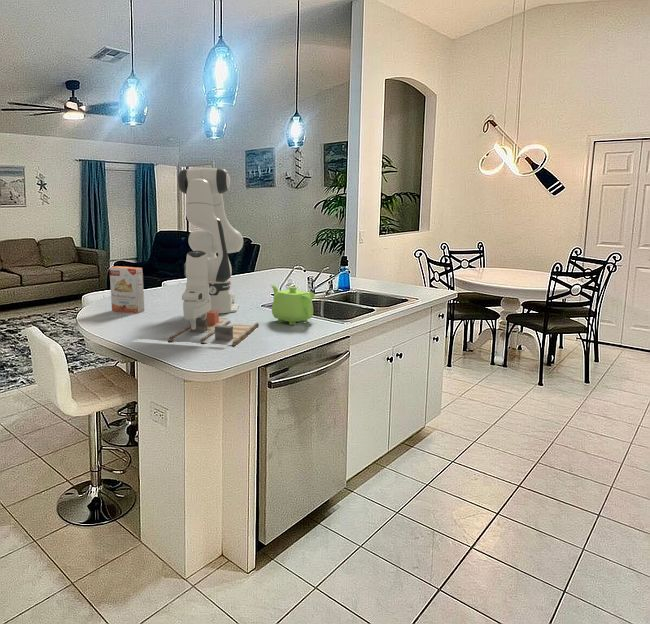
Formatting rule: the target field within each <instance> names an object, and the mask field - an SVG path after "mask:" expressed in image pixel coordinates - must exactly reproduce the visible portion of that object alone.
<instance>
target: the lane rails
mask: <svg viewBox="0 0 650 624" xmlns="http://www.w3.org/2000/svg"><path fill="white" fill-rule="evenodd" d="M259 323H260V322H255V323H254V324H253V325H251V327H250V328H249V329H247V330H246V331H245V332H244V333H242V334H241V335H240V336H239V337H237V338H236V339H235V340H234V341H232V347H233V346H236V345H237V346H238V345H239V344H240V343H242V342H243V341H244V340H245V339H246V338H248V337H249V336H250V335H251V334H252V333H253V332H255V331H256V330H257V329H258V328H259V327H260V326H259V325H260V324H259ZM229 324H231V320H226V321H225V323H223V324H222V325H224V326H229ZM256 328H257V329H256ZM255 329H256V330H255ZM189 330H190V324H189V325H188V326H186V327H184V328H183V329H181V330H179V331H178V332H175V333H174V334H173V335H171V336H169V337H168V343H170V344H171V343H173V342H174V340H173V339H174V338H177V337H178V336H180V335H182V334H183V333H185V332H186V331H189ZM254 330H255V331H254ZM214 335H215V329H214V330H211V332H208V333H207V335H205V336H204V337H202V338H200V339H199V341H200V344H203V345H205V344H206V342H204V341H206V340H208V339H209V338H210V337H211V336H214ZM248 335H249V336H248ZM241 341H242V342H241ZM237 346H236V347H237Z"/></svg>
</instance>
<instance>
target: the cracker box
mask: <svg viewBox="0 0 650 624" xmlns="http://www.w3.org/2000/svg"><path fill="white" fill-rule="evenodd" d="M109 281H110V284H109V285H110V301H111V302H110V304H111V311H112V312H122V313H123V312H124V313H132V312H133V313H132V314H139V313H142V312H144V311H145V295H144V294H145V293H144V292H145V291H144V273H143V267H134V266H118V265H116V266H111V267H109Z"/></svg>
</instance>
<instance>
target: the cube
mask: <svg viewBox="0 0 650 624" xmlns="http://www.w3.org/2000/svg"><path fill="white" fill-rule="evenodd" d="M219 315H220V313H219V311H214V310H210V311H209V312H207V316H206V318H207V324H211V325H215V324H217V323H218V322H219V318H220V316H219Z"/></svg>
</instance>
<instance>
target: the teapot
mask: <svg viewBox="0 0 650 624" xmlns="http://www.w3.org/2000/svg"><path fill="white" fill-rule="evenodd" d="M270 286H271V288H272V290H273V301H272V305H271V313H272V316H273V318H275V319H277V321H276V323H284V322H285V321H286V322H288V325H289V326H297V323H296V322H300V323H302V322H307V323H309V320H310V319H312V318H313V315H314V305H313V299H314V298H315V296H316V294H315V293H314V292H312V291H309V292H308V291H305V290H302V289H301V290H300V289H297V288H298V287H297V286H289V287H288V289H282V290H279V289H278V287H277V286H276V285H273V284H271V285H270Z"/></svg>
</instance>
